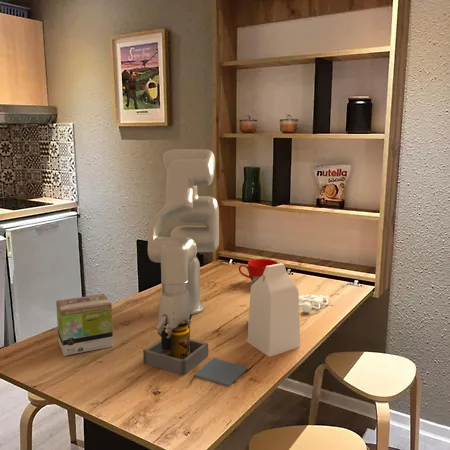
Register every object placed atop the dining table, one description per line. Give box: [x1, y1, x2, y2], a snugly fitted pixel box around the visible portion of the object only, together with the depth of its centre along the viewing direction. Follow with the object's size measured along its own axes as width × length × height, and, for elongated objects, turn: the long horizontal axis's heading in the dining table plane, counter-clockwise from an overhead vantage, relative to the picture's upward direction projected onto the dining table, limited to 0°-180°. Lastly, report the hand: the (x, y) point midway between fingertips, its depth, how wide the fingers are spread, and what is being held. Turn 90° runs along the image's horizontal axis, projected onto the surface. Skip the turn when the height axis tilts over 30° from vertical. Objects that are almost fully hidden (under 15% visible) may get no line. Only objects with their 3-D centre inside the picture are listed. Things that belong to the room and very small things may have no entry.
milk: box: [247, 262, 301, 357], centre depth 149 cm, size 12×12×26 cm
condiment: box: [163, 320, 191, 360], centre depth 140 cm, size 7×8×12 cm
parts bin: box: [142, 338, 209, 376], centre depth 141 cm, size 14×13×4 cm
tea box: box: [55, 293, 114, 357], centre depth 149 cm, size 15×10×15 cm, turn 117°
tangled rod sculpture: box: [299, 293, 331, 314], centre depth 185 cm, size 19×14×4 cm
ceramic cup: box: [238, 258, 279, 282], centre depth 206 cm, size 13×17×10 cm
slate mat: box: [193, 357, 248, 387], centre depth 135 cm, size 11×11×1 cm
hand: (176, 343), depth 140 cm, fingers open, 8 cm apart
